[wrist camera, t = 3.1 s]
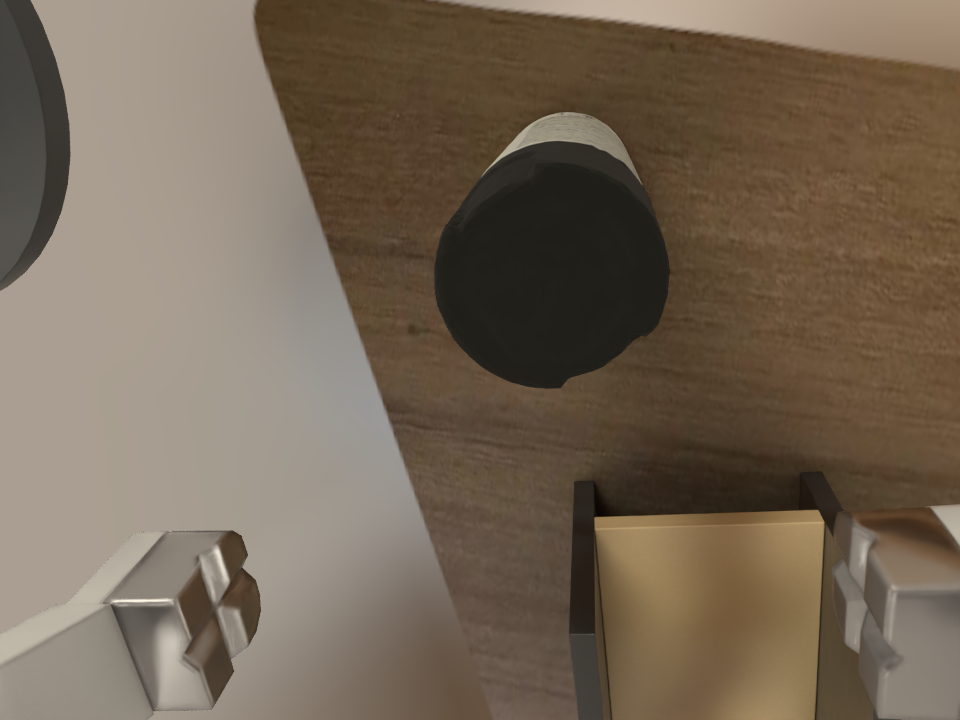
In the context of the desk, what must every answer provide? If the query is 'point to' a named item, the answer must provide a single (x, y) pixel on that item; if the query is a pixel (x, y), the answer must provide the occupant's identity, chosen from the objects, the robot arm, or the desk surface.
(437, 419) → the desk surface
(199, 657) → the robot arm
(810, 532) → the shelf
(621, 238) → the spray can
